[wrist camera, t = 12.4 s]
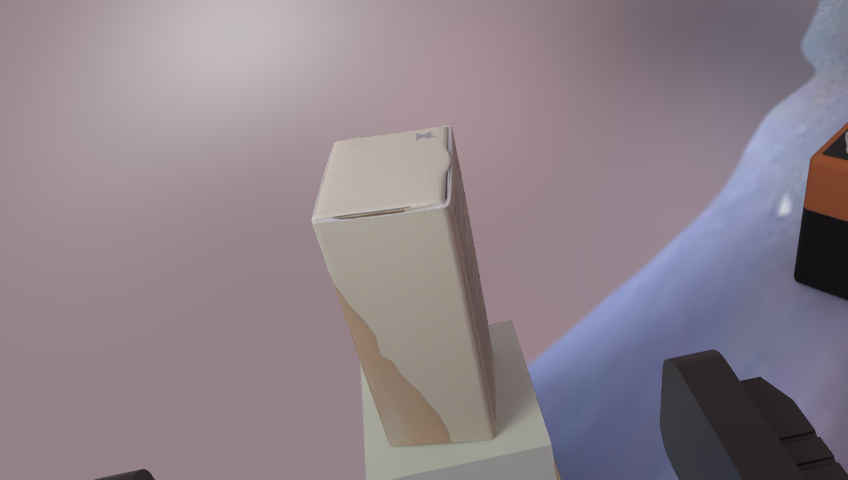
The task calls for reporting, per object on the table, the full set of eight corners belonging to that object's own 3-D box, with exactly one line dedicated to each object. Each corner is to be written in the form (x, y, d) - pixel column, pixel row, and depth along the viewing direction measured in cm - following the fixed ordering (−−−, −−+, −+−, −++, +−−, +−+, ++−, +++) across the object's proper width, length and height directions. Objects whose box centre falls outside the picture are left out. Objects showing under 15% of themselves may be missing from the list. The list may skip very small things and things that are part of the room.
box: (398, 355, 31) (333, 134, 25) (495, 346, 31) (454, 116, 24) (386, 454, 27) (305, 218, 21) (499, 446, 26) (450, 200, 20)
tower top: (395, 557, 29) (366, 484, 26) (384, 425, 35) (359, 353, 32) (562, 521, 29) (551, 444, 26) (523, 394, 35) (511, 320, 32)
